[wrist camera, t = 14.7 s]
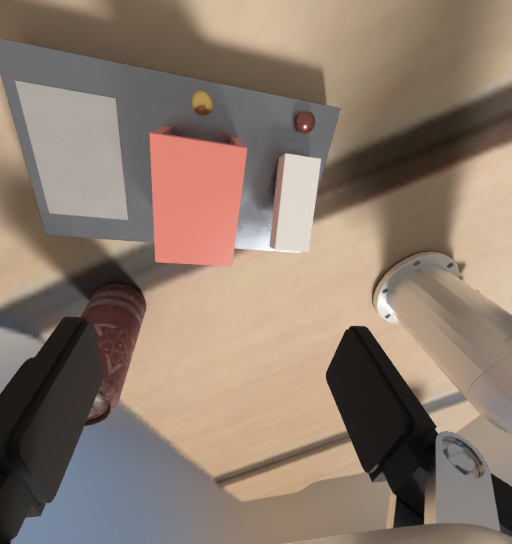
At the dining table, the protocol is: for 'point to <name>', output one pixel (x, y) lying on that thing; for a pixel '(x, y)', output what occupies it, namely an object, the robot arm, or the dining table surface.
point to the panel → (142, 139)
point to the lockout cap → (195, 197)
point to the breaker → (294, 202)
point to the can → (114, 340)
